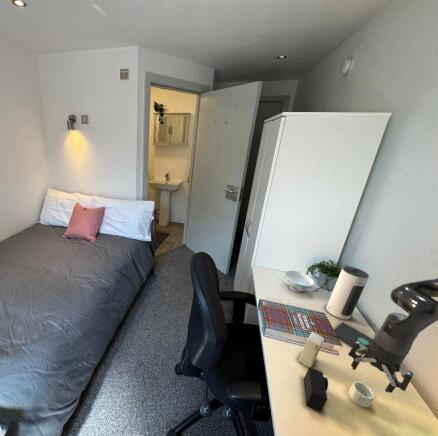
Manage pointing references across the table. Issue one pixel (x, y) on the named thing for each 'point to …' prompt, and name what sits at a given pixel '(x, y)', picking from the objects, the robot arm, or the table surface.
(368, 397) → the white tape roll
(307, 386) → the digital camera
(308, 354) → the cosmetic box
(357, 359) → the robot arm
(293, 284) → the chinaware
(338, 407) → the table surface
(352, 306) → the speaker
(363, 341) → the tare button
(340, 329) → the scale
